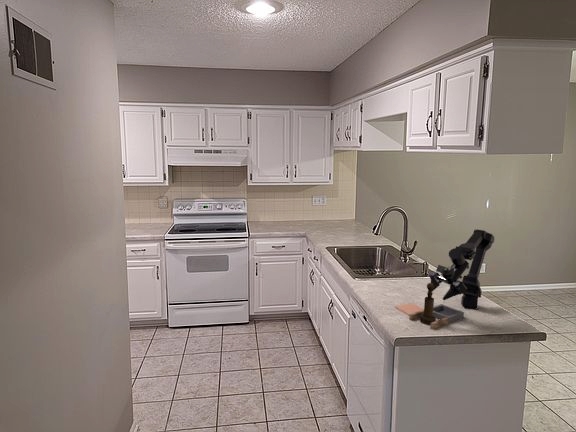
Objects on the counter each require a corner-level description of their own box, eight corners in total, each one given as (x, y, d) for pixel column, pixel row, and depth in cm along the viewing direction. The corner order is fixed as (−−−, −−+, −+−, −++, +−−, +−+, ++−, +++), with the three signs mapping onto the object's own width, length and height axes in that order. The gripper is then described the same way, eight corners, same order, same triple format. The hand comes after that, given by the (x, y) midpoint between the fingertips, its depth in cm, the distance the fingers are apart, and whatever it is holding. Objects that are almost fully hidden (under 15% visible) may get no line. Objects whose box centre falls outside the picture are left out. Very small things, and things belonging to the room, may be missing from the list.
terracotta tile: (412, 304, 207) (412, 303, 207) (428, 312, 197) (428, 311, 197) (394, 307, 203) (394, 306, 203) (409, 315, 193) (409, 314, 193)
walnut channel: (424, 314, 195) (424, 309, 195) (447, 323, 185) (448, 318, 185) (409, 319, 189) (409, 314, 188) (432, 329, 179) (433, 323, 178)
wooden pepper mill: (432, 318, 190) (435, 281, 187) (437, 324, 184) (441, 285, 181) (417, 318, 190) (420, 281, 187) (422, 324, 183) (425, 285, 180)
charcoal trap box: (441, 308, 202) (441, 303, 202) (463, 317, 192) (464, 312, 192) (425, 314, 195) (425, 309, 195) (448, 323, 186) (448, 317, 185)
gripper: (433, 253, 194) (412, 279, 191) (464, 264, 177) (442, 292, 174) (444, 268, 198) (424, 293, 196) (476, 280, 181) (454, 307, 179)
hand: (435, 296), depth 186 cm, fingers open, 9 cm apart
